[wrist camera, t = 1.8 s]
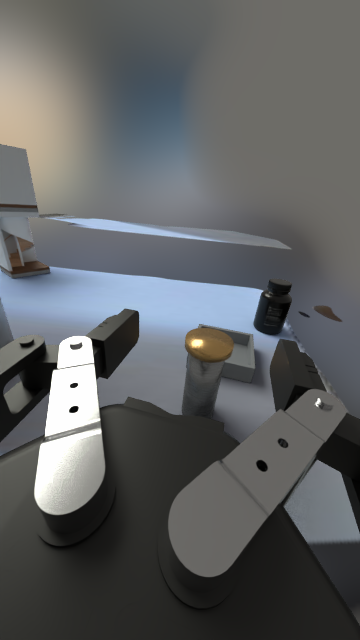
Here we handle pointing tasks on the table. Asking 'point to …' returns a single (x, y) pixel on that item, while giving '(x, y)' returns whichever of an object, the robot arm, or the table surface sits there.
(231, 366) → the tray
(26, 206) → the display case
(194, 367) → the pin
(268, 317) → the supplement bottle
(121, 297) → the table surface
